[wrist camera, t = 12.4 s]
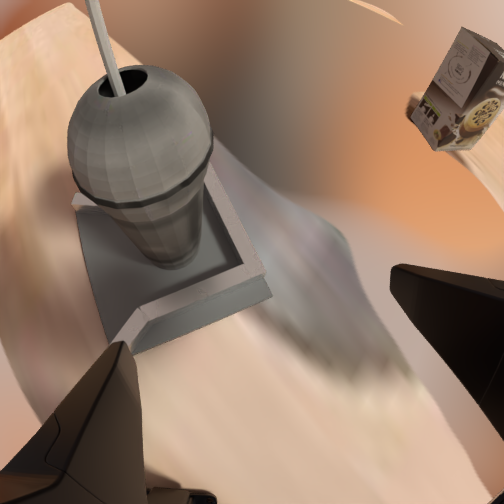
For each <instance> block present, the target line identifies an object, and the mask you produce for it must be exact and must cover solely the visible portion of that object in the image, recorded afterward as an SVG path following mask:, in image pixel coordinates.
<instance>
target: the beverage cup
mask: <svg viewBox="0 0 504 504" xmlns="http://www.w3.org/2000/svg"><path fill="white" fill-rule="evenodd" d="M85 3H86V6H87V10H88V14H89V17H90V21H91V24H92V28H93V31H94V34H95V38H96V41H97V44H98V47H99V51H100V54H101V57H102V60H103V63H104V66H105V69H106V72H107V74H106V75H104V76H103V77H102V78H100V79H99V80H98V81H96V82H95V83H94V84H92V85H91V86H90V87H89V89H88V90H87V91H86V92H85V93H84V94H83V96H82V97H81V98H80V100H79V101H78V103H77V105H76V108H75V110H74V112H73V114H72V117H71V119H70V122H69V126H68V136H67V148H68V159H69V163H70V166H71V168H72V174H73V178H74V180H75V182H76V184H77V186H78V188H79V190H80V192H81V193H82V194H83V195H84V196H86V197H87V198H88V199H90V200H91V201H92V202H94V203H95V204H96V205H97V206H99V207H100V208H101V209H102V210H104V211H105V212H107V213H108V214H109V215H110V216H111V218H112V219H113V220H114V221H115V222H116V224H117V225H118V226H119V227H120V228H121V230H122V231H123V232H124V233H125V234H126V235H127V237H128V238H129V239H130V240H131V241H132V242H133V243H134V245H135V246H136V247H137V248H138V249H139V250H140V251H141V253H142V254H143V255H144V256H145V257H146V258H147V259H149V260H150V261H151V262H152V263H153V264H154V265H156V266H157V267H158V268H161V269H164V270H178V269H181V268H184V267H186V266H187V265H189V264H190V263H191V262H193V260H194V259H195V257H196V256H197V255H198V252H199V249H200V241H201V235H202V208H203V186H204V178H205V176H206V173H207V169H208V165H209V161H210V156H211V154H212V151H213V131H212V128H211V126H210V124H209V118H208V115H207V113H206V110H205V108H204V106H203V104H202V102H201V100H200V98H199V96H198V94H197V93H196V91H195V90H194V89H193V88H192V87H191V86H190V85H189V84H188V83H187V82H186V81H185V80H183V79H182V78H181V77H179V76H178V75H176V74H175V73H173V72H171V71H168V70H166V69H163V68H159V67H156V66H149V65H133V66H127V67H123V68H120V69H118V67H117V64H116V61H115V58H114V54H113V51H112V47H111V44H110V41H109V37H108V34H107V30H106V27H105V23H104V19H103V16H102V12H101V8H100V4H99V0H85Z"/></svg>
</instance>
